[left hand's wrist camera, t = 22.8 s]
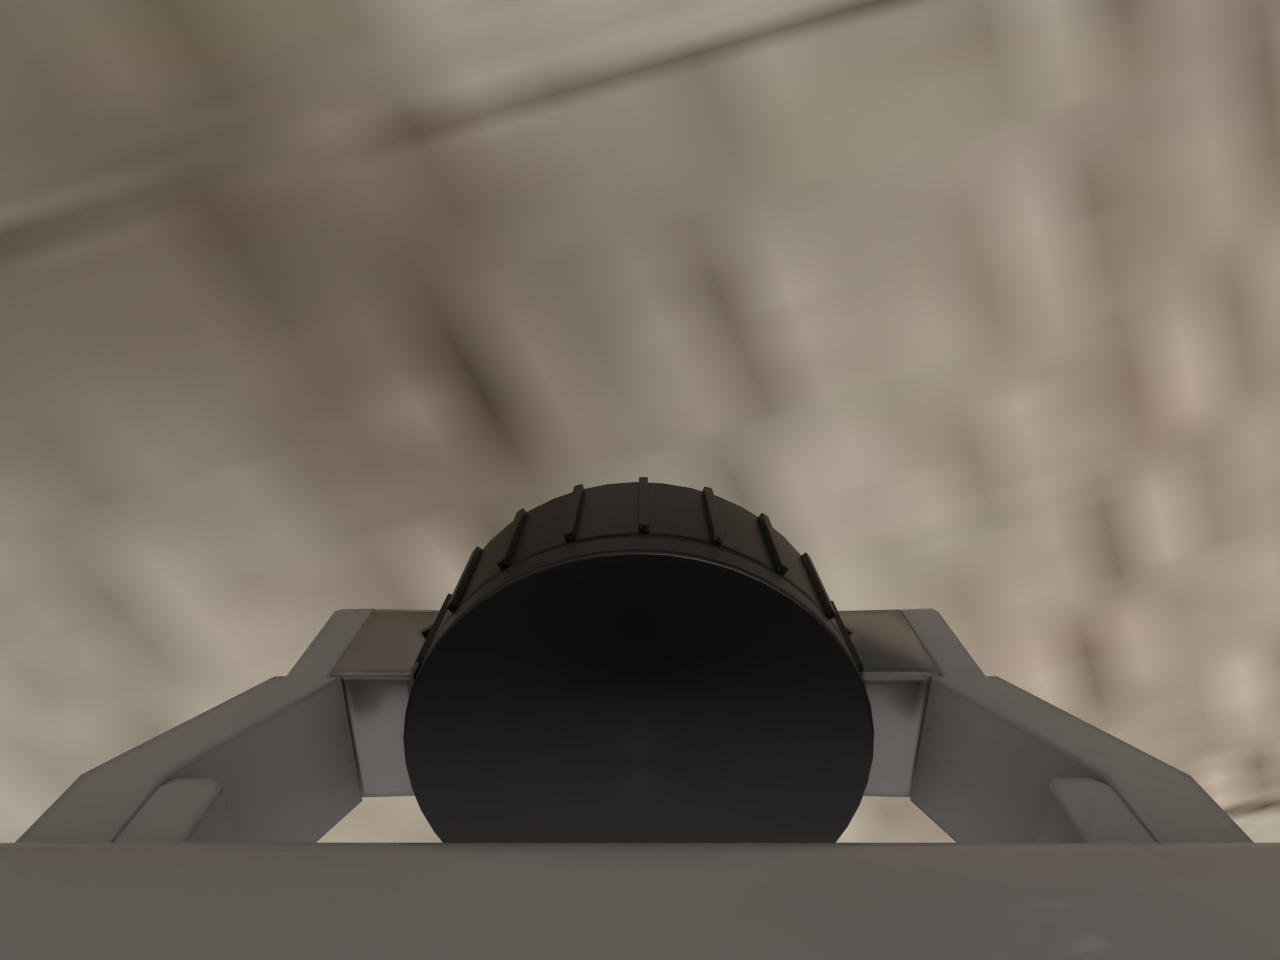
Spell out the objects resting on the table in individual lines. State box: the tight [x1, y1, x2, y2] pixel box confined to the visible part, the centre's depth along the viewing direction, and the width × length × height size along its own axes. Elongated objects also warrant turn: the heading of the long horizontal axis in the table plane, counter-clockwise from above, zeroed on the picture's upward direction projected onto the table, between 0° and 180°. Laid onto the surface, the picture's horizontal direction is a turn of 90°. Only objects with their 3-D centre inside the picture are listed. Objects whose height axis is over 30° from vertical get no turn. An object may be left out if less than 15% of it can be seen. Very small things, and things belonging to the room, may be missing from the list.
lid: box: [403, 477, 874, 843], centre depth 9 cm, size 6×6×2 cm
